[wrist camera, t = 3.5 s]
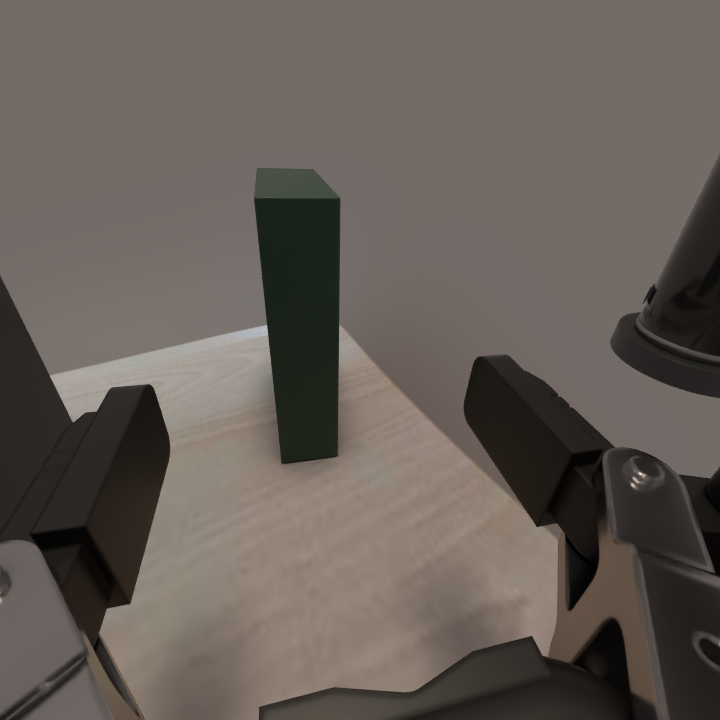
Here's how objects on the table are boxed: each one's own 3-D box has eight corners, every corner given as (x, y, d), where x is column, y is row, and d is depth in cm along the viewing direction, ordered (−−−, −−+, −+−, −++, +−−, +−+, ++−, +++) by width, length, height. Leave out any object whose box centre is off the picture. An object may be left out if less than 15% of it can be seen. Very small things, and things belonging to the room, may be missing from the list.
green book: (318, 370, 29) (313, 169, 22) (337, 456, 22) (340, 197, 14) (276, 373, 29) (256, 167, 21) (281, 464, 21) (253, 196, 14)
